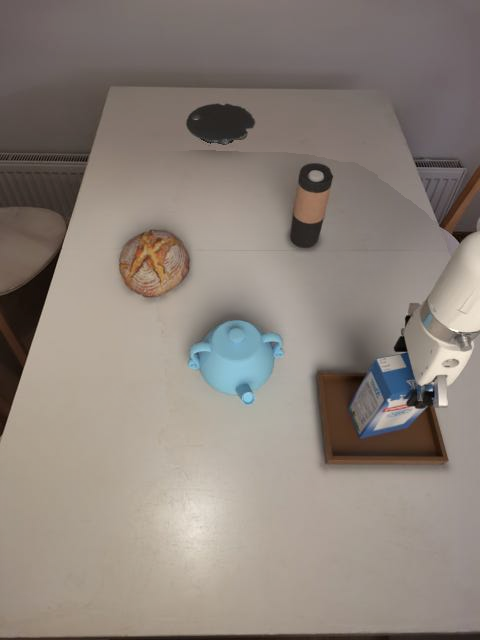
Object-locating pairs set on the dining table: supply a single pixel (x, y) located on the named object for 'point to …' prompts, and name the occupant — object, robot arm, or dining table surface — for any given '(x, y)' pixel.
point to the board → (220, 123)
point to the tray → (383, 449)
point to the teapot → (236, 358)
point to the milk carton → (385, 397)
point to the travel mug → (310, 204)
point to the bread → (153, 263)
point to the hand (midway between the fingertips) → (409, 376)
